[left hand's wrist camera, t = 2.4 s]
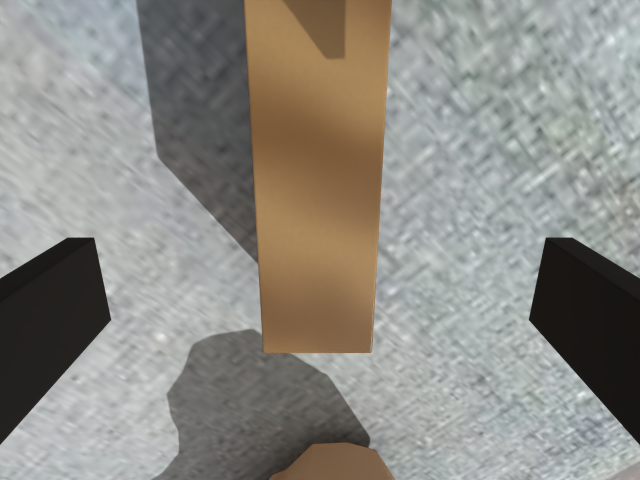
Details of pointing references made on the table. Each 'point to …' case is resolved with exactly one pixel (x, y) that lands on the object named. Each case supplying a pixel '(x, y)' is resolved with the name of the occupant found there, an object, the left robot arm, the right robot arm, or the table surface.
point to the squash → (336, 464)
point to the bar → (317, 167)
